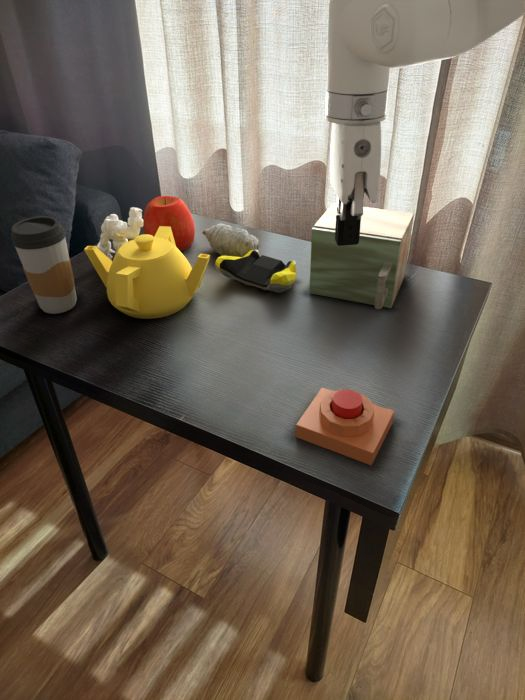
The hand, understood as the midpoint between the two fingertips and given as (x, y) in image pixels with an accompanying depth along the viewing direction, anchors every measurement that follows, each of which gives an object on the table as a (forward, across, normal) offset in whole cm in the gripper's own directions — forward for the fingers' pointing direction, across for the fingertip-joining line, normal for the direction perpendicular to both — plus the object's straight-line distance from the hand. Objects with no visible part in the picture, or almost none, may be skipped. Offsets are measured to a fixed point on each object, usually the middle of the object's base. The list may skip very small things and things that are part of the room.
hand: (346, 242), depth 76 cm
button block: (+15, -22, +4) cm, 27 cm away
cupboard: (+15, +14, -6) cm, 22 cm away
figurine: (+15, +27, +38) cm, 49 cm away
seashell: (+15, +29, +17) cm, 37 cm away
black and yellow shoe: (+15, +16, +12) cm, 25 cm away
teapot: (+15, +13, +31) cm, 37 cm away
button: (+12, -22, +4) cm, 25 cm away
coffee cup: (+15, +13, +48) cm, 52 cm away
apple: (+15, +35, +29) cm, 48 cm away
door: (+15, +7, -2) cm, 17 cm away
